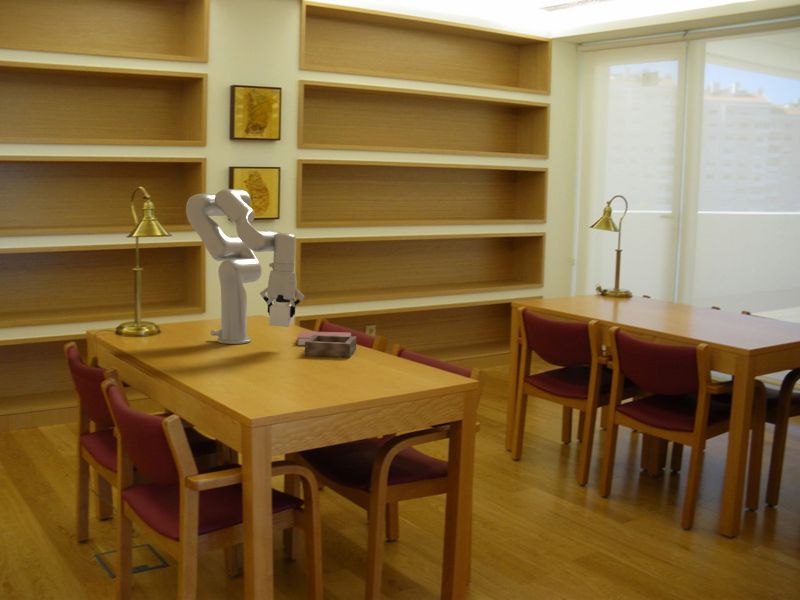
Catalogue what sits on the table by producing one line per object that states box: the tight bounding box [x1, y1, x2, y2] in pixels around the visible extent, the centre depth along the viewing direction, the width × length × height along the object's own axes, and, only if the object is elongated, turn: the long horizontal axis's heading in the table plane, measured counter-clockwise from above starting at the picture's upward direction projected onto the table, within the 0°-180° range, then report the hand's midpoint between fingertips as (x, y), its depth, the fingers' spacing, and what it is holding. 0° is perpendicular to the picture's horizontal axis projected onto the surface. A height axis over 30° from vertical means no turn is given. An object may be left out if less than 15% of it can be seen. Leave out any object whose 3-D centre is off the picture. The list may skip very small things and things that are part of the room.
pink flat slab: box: [296, 331, 352, 347], centre depth 322 cm, size 20×14×3 cm
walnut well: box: [304, 335, 357, 359], centre depth 302 cm, size 16×16×5 cm
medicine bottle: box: [268, 295, 294, 328], centre depth 304 cm, size 7×7×12 cm
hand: (281, 315), depth 304 cm, fingers closed on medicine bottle, 7 cm apart
